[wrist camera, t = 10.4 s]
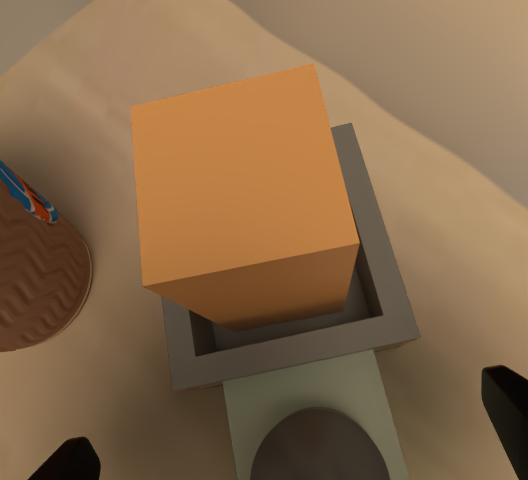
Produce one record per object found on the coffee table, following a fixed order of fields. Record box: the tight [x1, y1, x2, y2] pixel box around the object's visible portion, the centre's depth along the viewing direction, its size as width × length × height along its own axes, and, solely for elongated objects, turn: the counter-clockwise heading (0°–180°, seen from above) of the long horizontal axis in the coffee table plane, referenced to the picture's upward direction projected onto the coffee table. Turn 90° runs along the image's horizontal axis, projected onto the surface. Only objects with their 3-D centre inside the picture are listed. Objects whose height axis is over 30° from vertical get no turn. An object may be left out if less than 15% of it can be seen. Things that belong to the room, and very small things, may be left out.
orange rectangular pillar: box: [131, 64, 360, 332], centre depth 15 cm, size 5×5×10 cm
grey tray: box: [162, 123, 420, 480], centre depth 17 cm, size 16×9×5 cm, turn 12°
